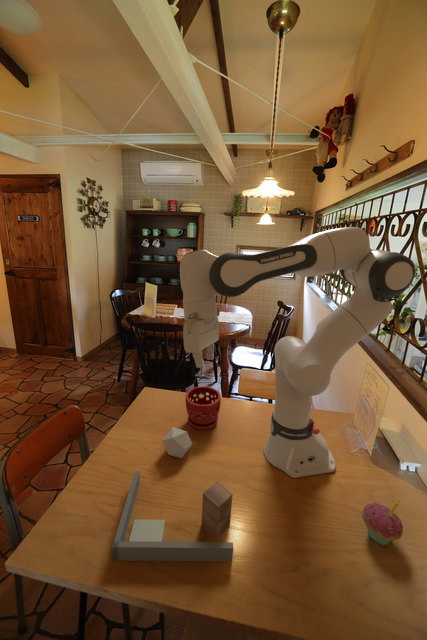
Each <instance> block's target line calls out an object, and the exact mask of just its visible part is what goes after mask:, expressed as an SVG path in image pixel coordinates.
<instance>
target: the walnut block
mask: <svg viewBox="0 0 427 640" xmlns="http://www.w3.org/2000/svg"><path fill="white" fill-rule="evenodd" d="M201 503H202V505H201V506H202V507H201V526H202V527H203V528H204V529H205V530H206V531H207V532H208V533H209V534H210V535H211V536H212V538H214V539H215V540H216V541H217V540H218V538H220V536H222V535H223V533H224V532H225V531H227V529H228V528H229V527H230V525H231V517H232V504H233V493H232V492H231V491H230V490H228V488H226V487H225V486H224V485H222V484H221V483H220V482H219V481H216V482H214V483H213V484H212V485H211V486H210V487H208V489H207V490H205V491H204V492H203V493H202V502H201Z"/></svg>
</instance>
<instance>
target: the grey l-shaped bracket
mask: <svg viewBox="0 0 427 640" xmlns="http://www.w3.org/2000/svg"><path fill="white" fill-rule="evenodd" d="M140 476H141V474H140V471H137V470H134V474H133V478H132V481H131V484H130V487H129V490H128V494H127V498H126V499H125V504H124V507H123V510H122V514H121V516H120V521H119V524H118V526H117V529H116V533H115V536H114V539H113V544H112V546H111V551H112V561H132V562H133V561H134V562H135V561H136V562H139V561H143V562H144V561H145V562H146V561H147V562H150V561H151V562H153V561H154V562H156V561H157V562H159V561H161V562H167V561H168V562H233V555H234V542H230V541H229V542H226V541H224V542H222V541H221V542H219V541H217V542H215V541H213V542H211V541H208V542H207V541H163V539H164V532H165V523H166V519H141V518H140V519H134V520H133V524H132V527H131V531H130V532H131V533H130V536H129V539H128V540H127V541H125V539H126V534H127V531H128V528H129V525H130V520H131V517H132V514H133V509H134V505H135V502H136V499H137V495H138V492H139V487H140V484H141V477H140Z"/></svg>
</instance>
